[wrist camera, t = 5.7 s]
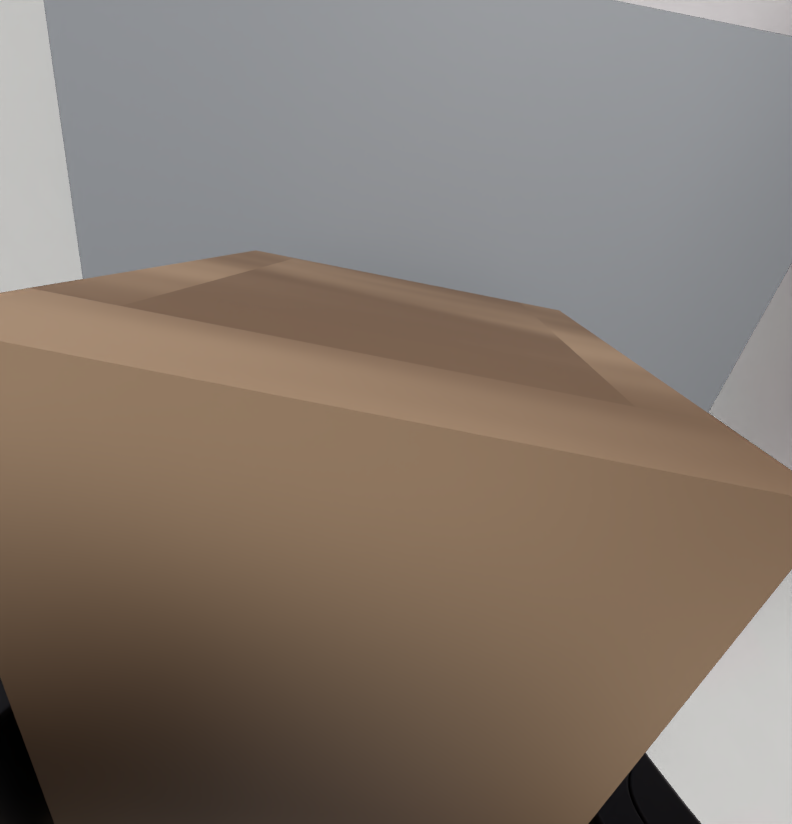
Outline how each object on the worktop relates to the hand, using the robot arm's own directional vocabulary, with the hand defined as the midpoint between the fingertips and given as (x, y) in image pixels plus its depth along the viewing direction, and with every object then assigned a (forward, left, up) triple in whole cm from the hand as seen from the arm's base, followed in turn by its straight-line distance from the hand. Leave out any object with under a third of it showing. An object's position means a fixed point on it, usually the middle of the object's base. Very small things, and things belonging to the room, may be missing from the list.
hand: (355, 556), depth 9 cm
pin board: (0, 0, -4) cm, 4 cm away
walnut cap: (0, 0, -1) cm, 1 cm away
